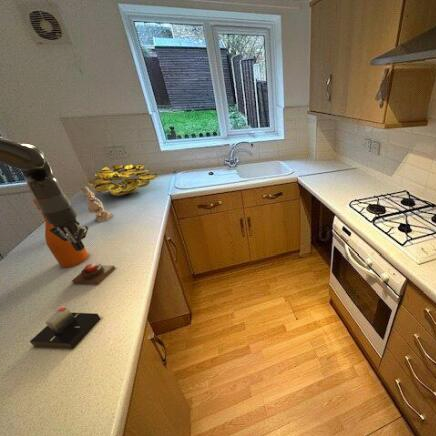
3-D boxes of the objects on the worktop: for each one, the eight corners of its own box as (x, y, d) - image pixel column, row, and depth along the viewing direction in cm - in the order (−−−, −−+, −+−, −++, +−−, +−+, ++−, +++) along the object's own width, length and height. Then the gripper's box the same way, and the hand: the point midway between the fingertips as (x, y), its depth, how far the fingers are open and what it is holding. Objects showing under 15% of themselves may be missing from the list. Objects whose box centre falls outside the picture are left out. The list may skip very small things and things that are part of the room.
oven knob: (60, 334, 68) (50, 321, 66) (54, 334, 68) (44, 321, 66) (75, 319, 73) (67, 307, 70) (69, 319, 73) (60, 306, 70)
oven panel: (35, 348, 68) (29, 341, 67) (66, 318, 77) (61, 311, 75) (74, 350, 67) (68, 343, 66) (101, 320, 76) (97, 313, 74)
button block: (74, 284, 90) (69, 276, 88) (93, 269, 98) (88, 261, 96) (98, 285, 90) (94, 277, 88) (116, 269, 97) (112, 261, 96)
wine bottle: (74, 269, 98) (34, 203, 84) (54, 268, 100) (12, 202, 85) (95, 255, 107) (62, 193, 92) (76, 253, 108) (41, 192, 94)
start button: (83, 272, 91) (81, 269, 90) (91, 266, 94) (89, 263, 93) (92, 273, 90) (90, 269, 90) (99, 266, 94) (98, 263, 93)
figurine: (96, 218, 139) (80, 185, 129) (113, 214, 142) (99, 182, 132) (93, 224, 132) (76, 191, 122) (111, 221, 135) (96, 187, 125)
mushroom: (96, 211, 147) (83, 184, 139) (92, 191, 178) (82, 168, 170) (166, 193, 169) (159, 169, 161) (152, 178, 200) (145, 157, 192)
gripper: (26, 212, 76) (54, 255, 85) (64, 212, 75) (88, 256, 84) (49, 202, 83) (72, 243, 91) (84, 202, 82) (105, 244, 90)
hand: (80, 249), depth 87 cm, fingers closed
